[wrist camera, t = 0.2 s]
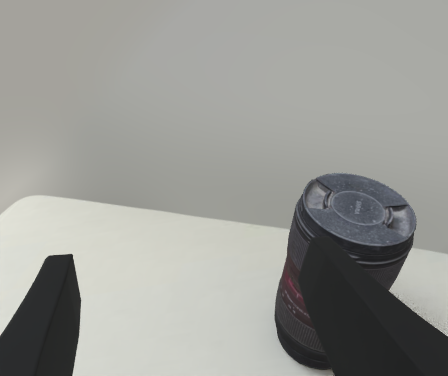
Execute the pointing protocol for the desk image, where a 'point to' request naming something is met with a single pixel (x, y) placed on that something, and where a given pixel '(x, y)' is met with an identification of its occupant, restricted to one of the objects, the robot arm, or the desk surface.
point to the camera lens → (348, 240)
